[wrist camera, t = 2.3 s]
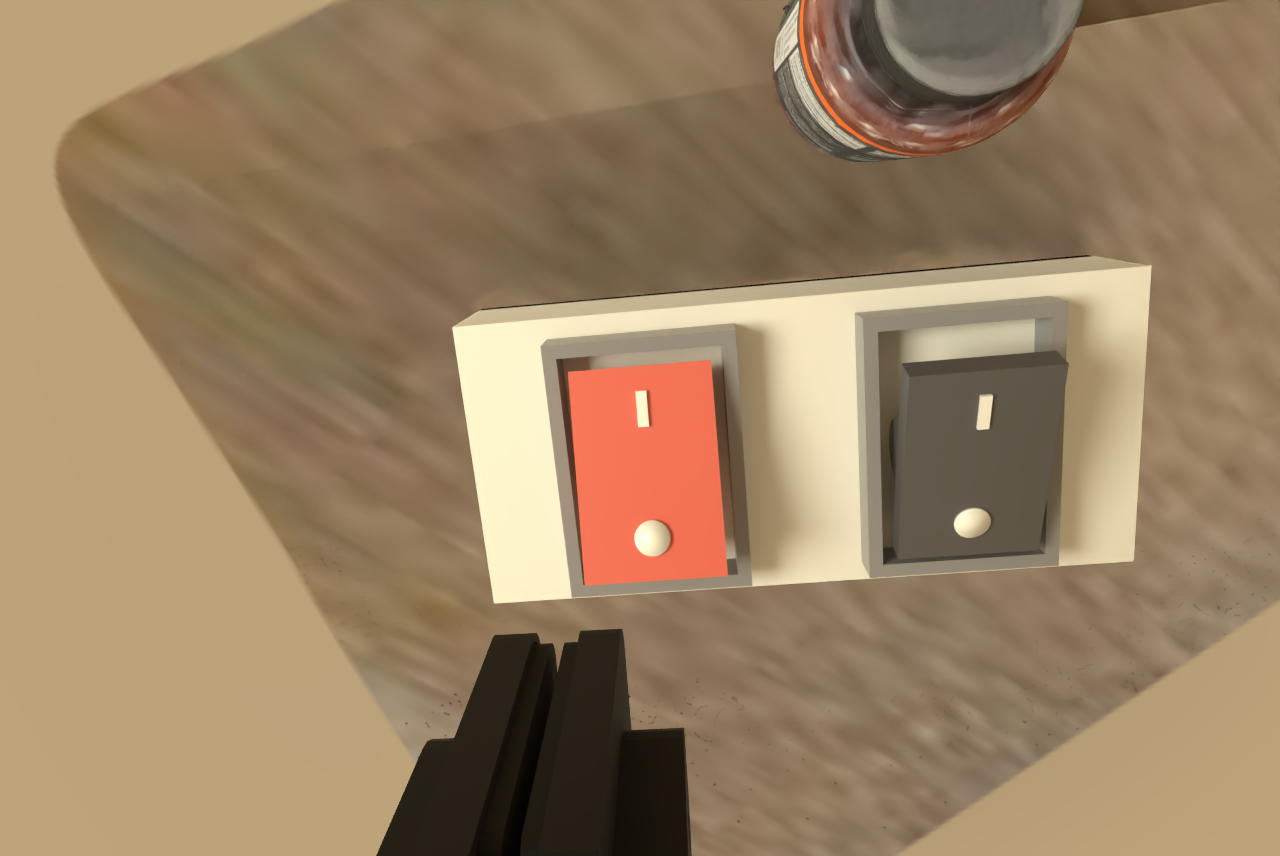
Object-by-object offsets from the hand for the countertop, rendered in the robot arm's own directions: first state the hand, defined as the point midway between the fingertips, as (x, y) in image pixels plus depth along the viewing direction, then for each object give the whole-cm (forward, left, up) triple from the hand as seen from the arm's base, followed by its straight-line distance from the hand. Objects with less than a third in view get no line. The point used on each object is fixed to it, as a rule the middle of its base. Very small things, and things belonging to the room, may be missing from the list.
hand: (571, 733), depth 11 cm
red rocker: (0, +1, -14) cm, 14 cm away
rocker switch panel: (-5, +1, -20) cm, 20 cm away
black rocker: (-9, +1, -14) cm, 17 cm away
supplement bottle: (-8, -10, -20) cm, 23 cm away
